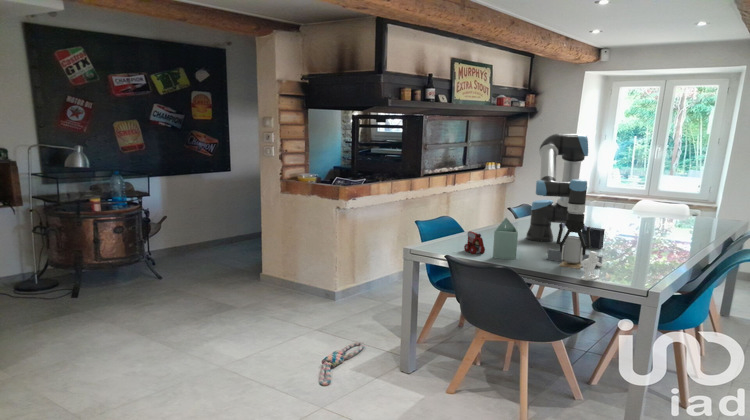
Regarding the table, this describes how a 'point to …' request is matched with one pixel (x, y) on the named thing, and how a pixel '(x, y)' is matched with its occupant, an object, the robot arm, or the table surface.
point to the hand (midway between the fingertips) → (571, 260)
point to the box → (594, 237)
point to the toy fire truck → (474, 243)
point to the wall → (557, 256)
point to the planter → (505, 241)
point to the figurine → (590, 266)
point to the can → (572, 249)
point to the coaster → (571, 265)
